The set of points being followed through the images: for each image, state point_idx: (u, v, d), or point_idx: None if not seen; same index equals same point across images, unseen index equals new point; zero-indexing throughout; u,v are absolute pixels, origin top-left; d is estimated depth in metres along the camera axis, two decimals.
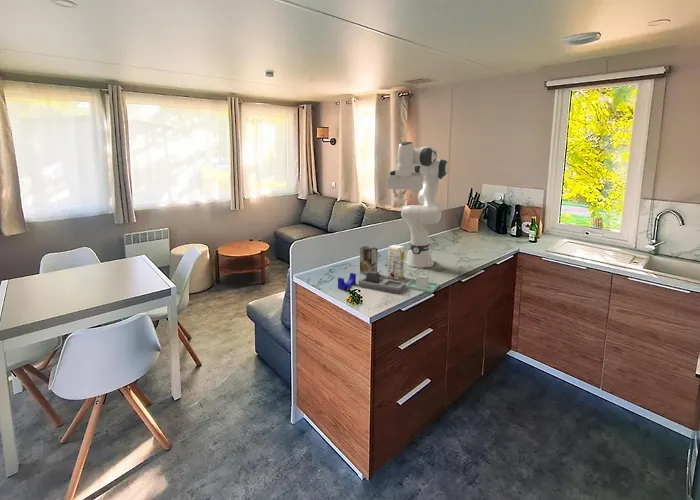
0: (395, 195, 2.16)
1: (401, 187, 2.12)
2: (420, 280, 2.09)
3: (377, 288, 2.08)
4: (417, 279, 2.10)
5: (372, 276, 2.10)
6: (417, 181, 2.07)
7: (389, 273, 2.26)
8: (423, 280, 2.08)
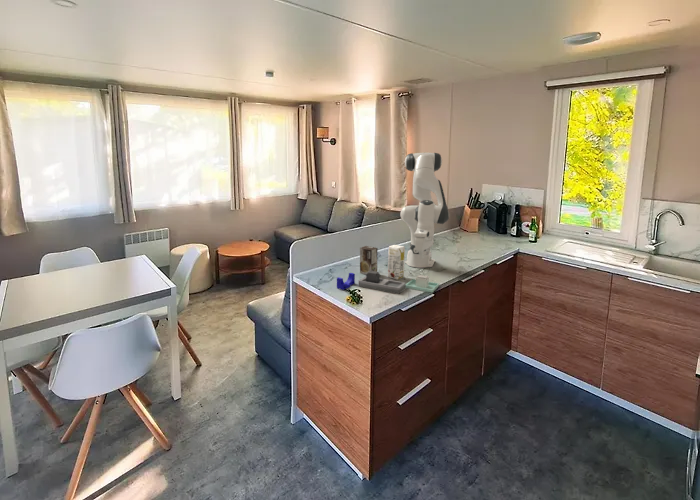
0: (423, 256, 2.03)
1: (427, 247, 2.04)
2: (420, 280, 2.09)
3: (377, 288, 2.08)
4: (417, 279, 2.10)
5: (372, 276, 2.10)
6: (433, 237, 2.11)
7: (389, 273, 2.26)
8: (423, 280, 2.08)
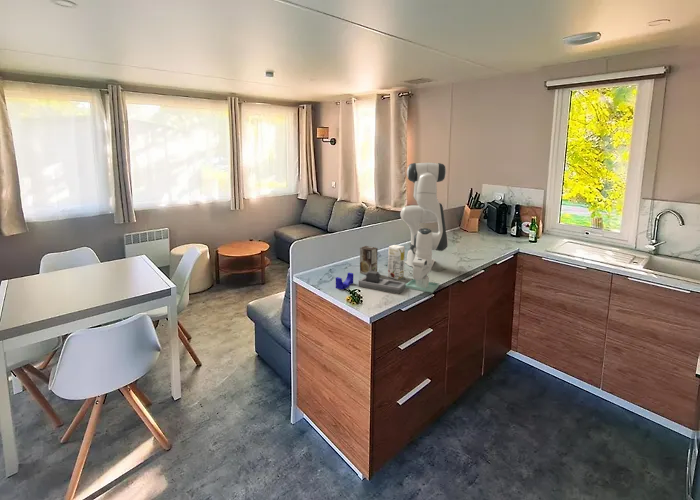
0: None
1: (425, 274, 2.08)
2: None
3: (377, 288, 2.08)
4: None
5: (372, 276, 2.10)
6: (430, 263, 2.15)
7: (389, 273, 2.26)
8: (423, 280, 2.08)
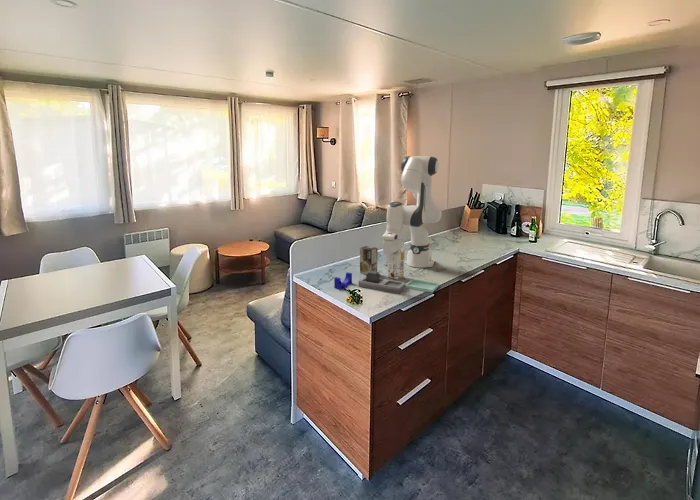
0: (393, 258, 2.01)
1: (396, 249, 2.01)
2: None
3: (377, 288, 2.08)
4: (388, 255, 2.03)
5: (372, 276, 2.10)
6: (403, 239, 2.08)
7: (389, 273, 2.26)
8: (394, 256, 2.01)
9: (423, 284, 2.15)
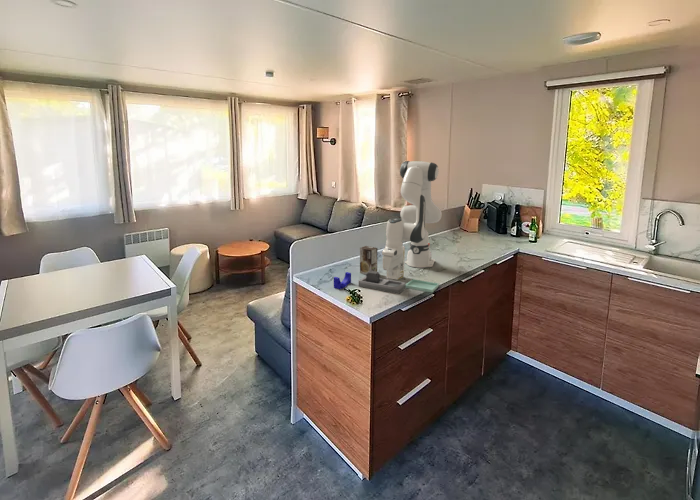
0: (392, 274, 2.03)
1: (396, 264, 2.03)
2: None
3: (377, 288, 2.08)
4: None
5: (372, 276, 2.10)
6: (402, 254, 2.10)
7: None
8: (394, 271, 2.03)
9: (423, 284, 2.15)
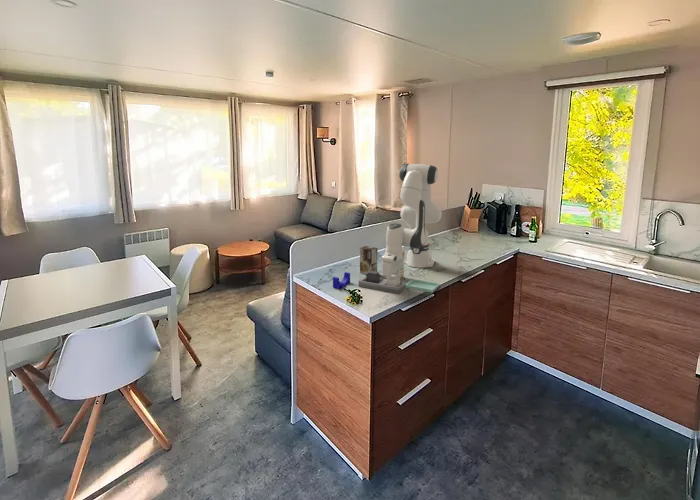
0: (391, 280, 2.02)
1: (395, 270, 2.04)
2: None
3: (377, 288, 2.08)
4: None
5: (372, 276, 2.10)
6: (402, 259, 2.11)
7: None
8: (394, 279, 2.04)
9: (423, 284, 2.15)
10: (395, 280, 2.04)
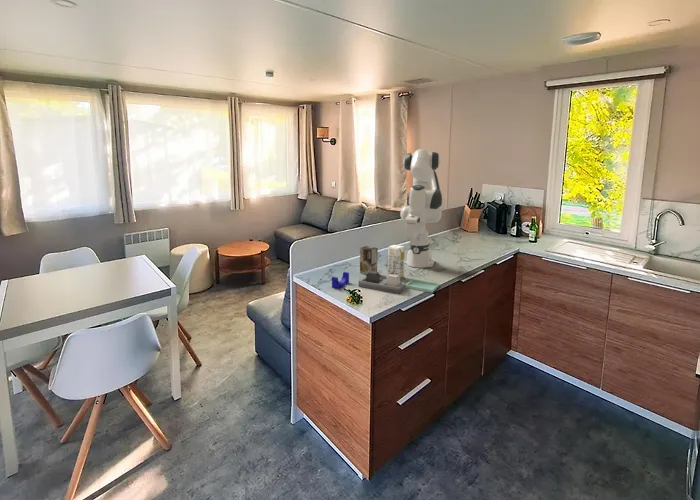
0: (413, 242, 2.01)
1: (418, 232, 2.02)
2: (391, 279, 2.05)
3: (377, 288, 2.08)
4: (388, 278, 2.06)
5: (372, 276, 2.10)
6: (424, 222, 2.09)
7: (389, 273, 2.26)
8: (394, 279, 2.04)
9: (423, 284, 2.15)
10: (395, 280, 2.04)
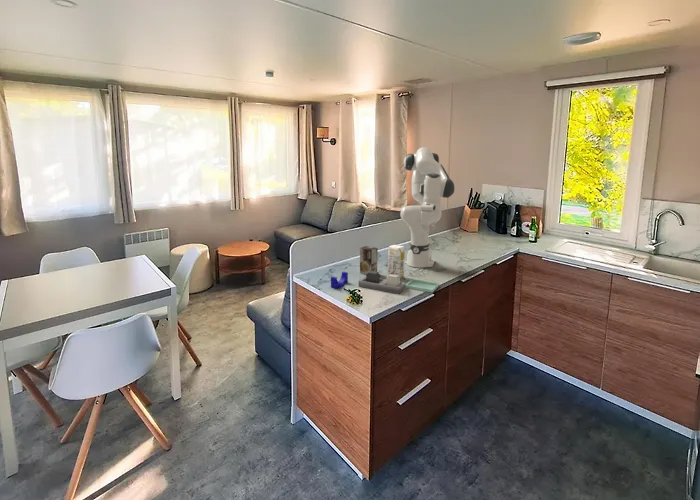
0: (429, 230, 2.01)
1: (433, 221, 2.03)
2: (391, 279, 2.05)
3: (377, 288, 2.08)
4: (388, 278, 2.06)
5: (372, 276, 2.10)
6: (439, 211, 2.09)
7: (389, 273, 2.26)
8: (394, 279, 2.04)
9: (423, 284, 2.15)
10: (395, 280, 2.04)
